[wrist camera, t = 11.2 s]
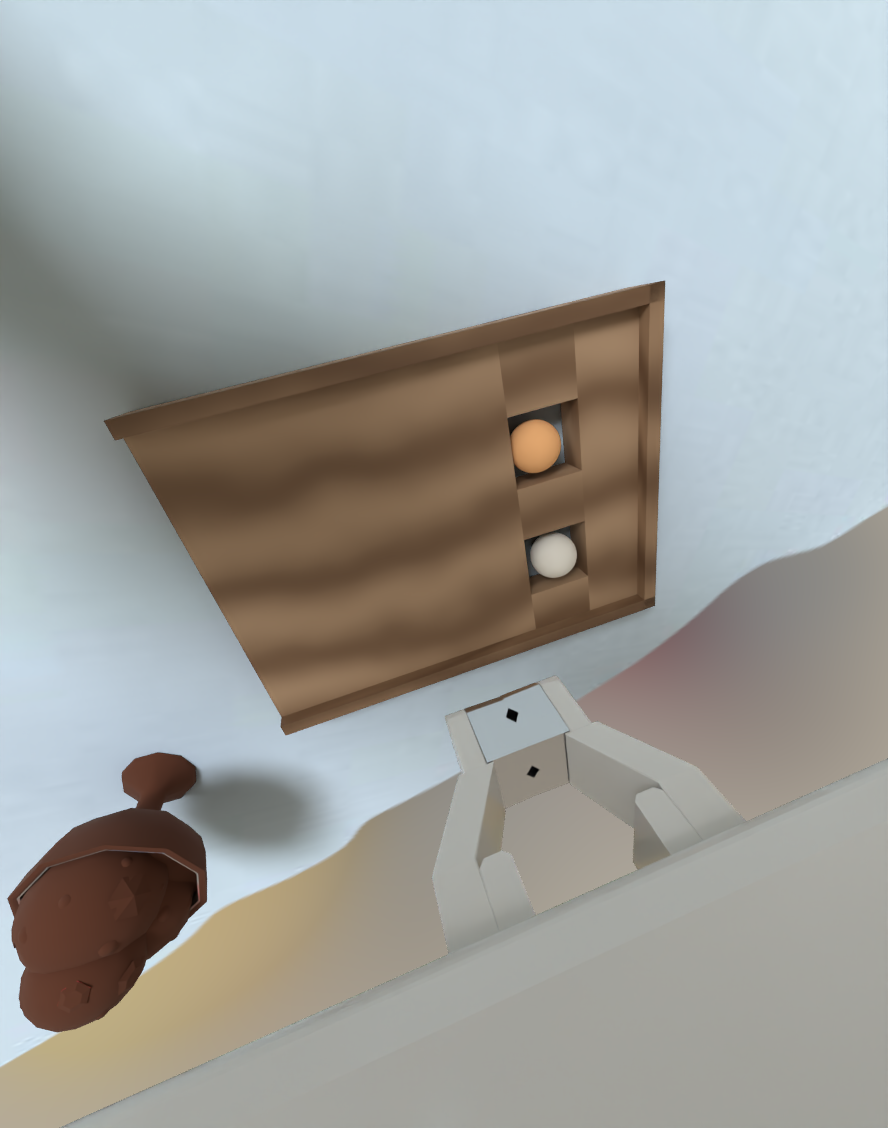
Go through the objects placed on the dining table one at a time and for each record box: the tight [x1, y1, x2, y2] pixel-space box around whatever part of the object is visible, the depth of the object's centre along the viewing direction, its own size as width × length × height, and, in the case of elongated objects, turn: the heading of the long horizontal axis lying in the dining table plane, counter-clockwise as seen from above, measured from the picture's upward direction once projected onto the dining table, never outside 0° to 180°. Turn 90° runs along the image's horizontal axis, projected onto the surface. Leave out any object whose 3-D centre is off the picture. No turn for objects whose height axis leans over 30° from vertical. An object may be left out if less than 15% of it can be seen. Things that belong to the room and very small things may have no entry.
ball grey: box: [530, 532, 577, 578], centre depth 35 cm, size 4×4×4 cm
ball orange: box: [510, 419, 561, 473], centre depth 30 cm, size 4×4×4 cm
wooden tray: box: [104, 281, 665, 735], centre depth 31 cm, size 24×32×4 cm
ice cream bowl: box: [7, 753, 207, 1032], centre depth 30 cm, size 11×11×15 cm
